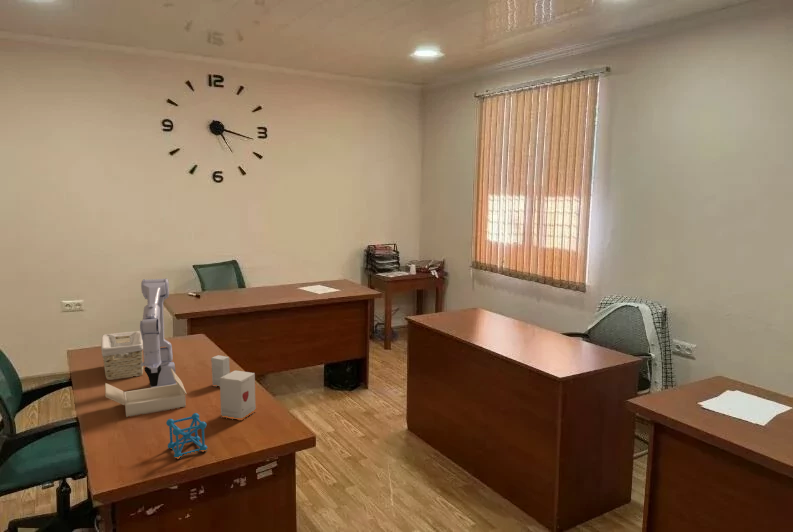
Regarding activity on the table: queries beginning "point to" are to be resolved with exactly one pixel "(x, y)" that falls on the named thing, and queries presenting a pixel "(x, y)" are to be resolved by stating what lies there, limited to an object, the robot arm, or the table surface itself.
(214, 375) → the skincare box
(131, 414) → the carton
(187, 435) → the molecular structure
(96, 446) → the table surface
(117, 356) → the storage basket
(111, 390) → the carton flap
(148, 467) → the table surface
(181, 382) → the carton flap
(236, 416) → the supplement box
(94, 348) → the table surface
